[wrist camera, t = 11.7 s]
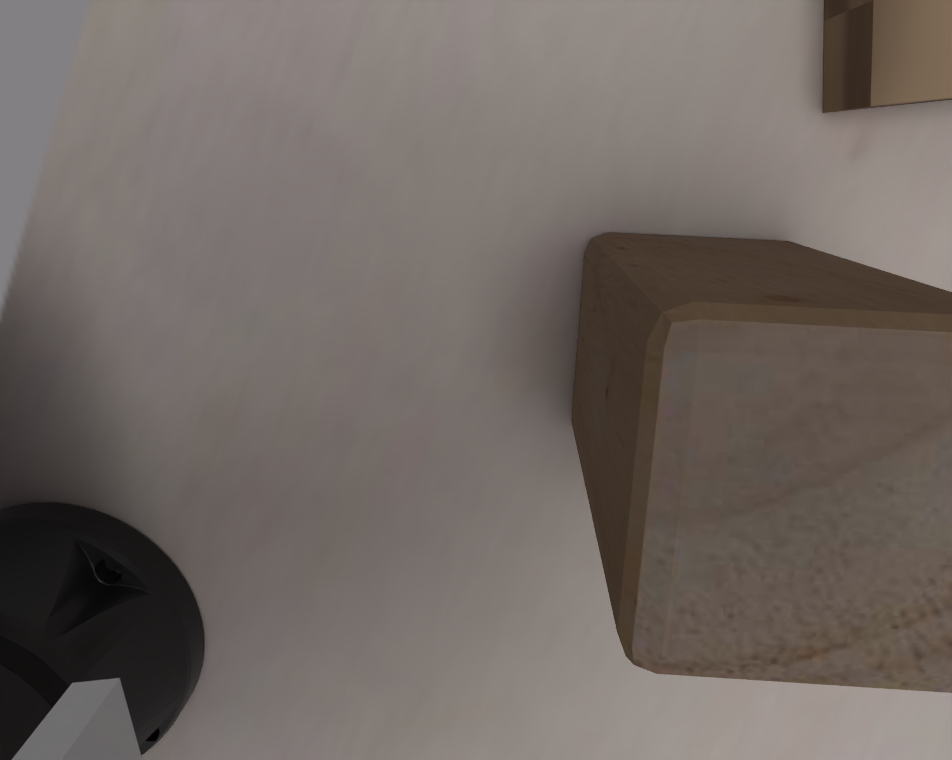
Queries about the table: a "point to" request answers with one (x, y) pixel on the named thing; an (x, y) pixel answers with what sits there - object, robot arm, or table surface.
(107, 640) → the robot arm
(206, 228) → the table surface
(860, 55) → the socket block
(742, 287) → the wooden block
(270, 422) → the table surface
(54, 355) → the table surface
